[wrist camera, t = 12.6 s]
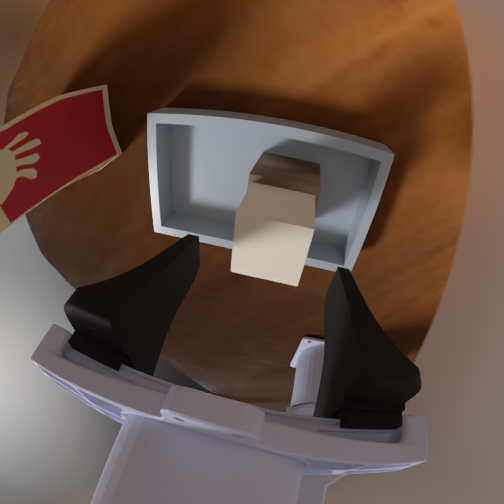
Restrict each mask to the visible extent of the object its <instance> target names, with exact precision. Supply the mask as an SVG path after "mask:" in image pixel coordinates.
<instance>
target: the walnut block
mask: <svg viewBox="0 0 504 504" xmlns="http://www.w3.org/2000/svg"><path fill="white" fill-rule="evenodd" d="M252 182H253V183H258V184H263V185H269V186H274V187H279V188H284V189H288V190H293V191H298V192H302V193H307V194H311V195H315V210H316V206H317V202H318V199H319V195H320V191H321V177H320V164H319V163H314V162H310V161H306V160H301V159H296V158H292V157H287V156H282V155H277V154H272V153H266V152H263V153H262V154H261V156H260V157H259V159H258V161H257V162H256V164H255V165H254V167H253V168H252V170H251V172H250V173H249V179H248V187H247V191H248V189H249V187H250V185H251V184H252Z"/></svg>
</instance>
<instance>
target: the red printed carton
mask: <svg viewBox="0 0 504 504" xmlns="http://www.w3.org/2000/svg"><path fill="white" fill-rule="evenodd" d="M121 154H122V151H121V148H120V146H119V143H118V140H117V138H116V135H115V132H114V129H113V127H112V122H111V114H110V106H109V97H108V87H107V85H102V86H97V87H92V88H87V89H83V90H78V91H74V92H70V93H66V94H63V95H59V96H57V97H55V98H53V99H51V100H49V101H47V102H45V103H43V104H41V105H39V106H37V107H35V108H33V109H31V110H29V111H27V112H26V113H24V114H22V115H20V116H19V117H17V118H15V119H13V120H12V121H10V122H9V123H7V124H5V125H4V126H2V127H1V128H0V233H1V232H2V231H4V230H5V229H6V228H7V227H9V226H10V225H11V224H13V223H14V222H15V221H16V220H18V219H19V218H21V217H22V216H23V215H25V214H26V213H28V212H29V211H30V210H32V209H33V208H35V207H36V206H37V205H39V204H40V203H42V202H43V201H44V200H46V199H47V198H49V197H50V196H52V195H53V194H55V193H56V192H58V191H59V190H61V189H62V188H64V187H66V186H68V185H69V184H71V183H73V182H76V181H78V180H80V179H82V178H84V177H86V176H88V175H90V174H93V173H95V172H97V171H99V170H101V169H102V168H103V167H105V166H106V165H107V164H108V163H110V162H111V161H112V160H114V159H115V158H116V157H118V156H119V155H121Z"/></svg>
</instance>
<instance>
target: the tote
mask: <svg viewBox="0 0 504 504" xmlns="http://www.w3.org/2000/svg"><path fill="white" fill-rule="evenodd" d="M147 137H148V162H149V179H150V192H151V204H152V214H153V223H154V232H158V233H163V234H167V235H172V236H176V237H181V238H183V237H185V236H186V235H188V234H191V235H196V236H199V242H204V243H208V244H213V245H217V246H222V247H226V248H231V249H233V237H234V225H235V214H236V211H237V209H238V207H239V206H240V204H241V202H242V200H243V198H244V196H245V194H246V193H247V187H248V179H249V173H250V172H251V170H252V168H253V167H254V165H255V164H256V162H257V161H258V159H259V157H260V156H261V154H262V153H263V152H266V153H272V154H277V155H282V156H287V157H292V158H296V159H301V160H306V161H310V162H314V163H319V164H320V177H321V191H320V195H319V199H318V202H317V206H316V210H315V230H314V233H313V237H312V240H311V244H310V247H309V250H308V254H307V257H306V260H305V264H304V265H308V266H313V267H318V268H322V269H327V270H331V271H336V270H337V267H342V268H347V269H349V270H350V272H351V270H352V268H353V266H354V264H355V261H356V259H357V257H358V254H359V252H360V250H361V247H362V245H363V242H364V240H365V237H366V235H367V232H368V230H369V227H370V225H371V222H372V220H373V217H374V214H375V212H376V209H377V206H378V204H379V201H380V198H381V195H382V192H383V189H384V186H385V184H386V181H387V178H388V174H389V171H390V168H391V165H392V162H393V159H394V155H395V154H394V153H393V152H392V151H391V150H390V149H389V148H388V147H387V146H386V145H385V144H382V143H379V142H376V141H373V140H369V139H366V138H363V137H359V136H356V135H352V134H349V133H345V132H341V131H337V130H333V129H329V128H325V127H321V126H316V125H312V124H307V123H302V122H297V121H292V120H286V119H281V118H275V117H269V116H262V115H255V114H248V113H239V112H230V111H220V110H208V109H193V108H162V109H159V110H156V111H153V112H150V113H147Z"/></svg>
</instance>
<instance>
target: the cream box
mask: <svg viewBox="0 0 504 504" xmlns="http://www.w3.org/2000/svg"><path fill="white" fill-rule="evenodd" d="M314 230H315V195H311V194H307V193H302V192H298V191H293V190H288V189H284V188H279V187H274V186H269V185H263V184H258V183H253V182H252V184H251V185H250V187H249V189H248V191H247V193H246V194H245V196H244V198H243V200H242V202H241V204H240V206H239V207H238V209H237V211H236V214H235V225H234V237H233V249H232V261H231V272H235V273H240V274H244V275H248V276H253V277H257V278H262V279H266V280H271V281H275V282H280V283H284V284H289V285H294V286H298V283H299V280H300V277H301V273H302V270H303V267H304V264H305V260H306V257H307V254H308V250H309V247H310V244H311V240H312V237H313V233H314Z"/></svg>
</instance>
